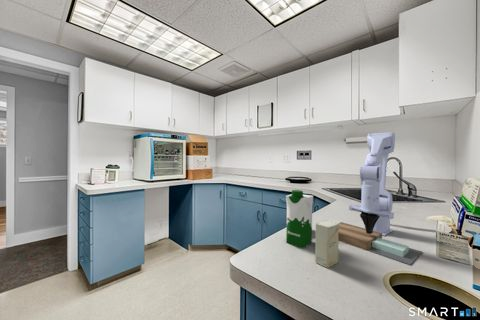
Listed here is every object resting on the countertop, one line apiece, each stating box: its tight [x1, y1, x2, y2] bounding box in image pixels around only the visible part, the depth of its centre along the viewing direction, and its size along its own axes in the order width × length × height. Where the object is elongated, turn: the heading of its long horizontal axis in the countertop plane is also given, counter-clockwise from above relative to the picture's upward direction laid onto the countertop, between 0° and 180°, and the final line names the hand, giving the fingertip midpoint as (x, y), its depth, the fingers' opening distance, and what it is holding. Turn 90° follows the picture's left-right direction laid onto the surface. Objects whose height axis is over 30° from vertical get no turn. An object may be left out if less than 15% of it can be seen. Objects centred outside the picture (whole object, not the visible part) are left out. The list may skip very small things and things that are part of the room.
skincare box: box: [314, 220, 339, 268], centre depth 63 cm, size 6×4×12 cm
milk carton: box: [285, 189, 314, 249], centre depth 77 cm, size 9×9×20 cm
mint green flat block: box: [371, 237, 410, 257], centre depth 71 cm, size 6×9×2 cm, turn 36°
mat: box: [369, 247, 423, 266], centre depth 70 cm, size 14×11×1 cm
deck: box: [338, 221, 383, 251], centre depth 82 cm, size 14×16×3 cm
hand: (369, 233), depth 77 cm, fingers closed
